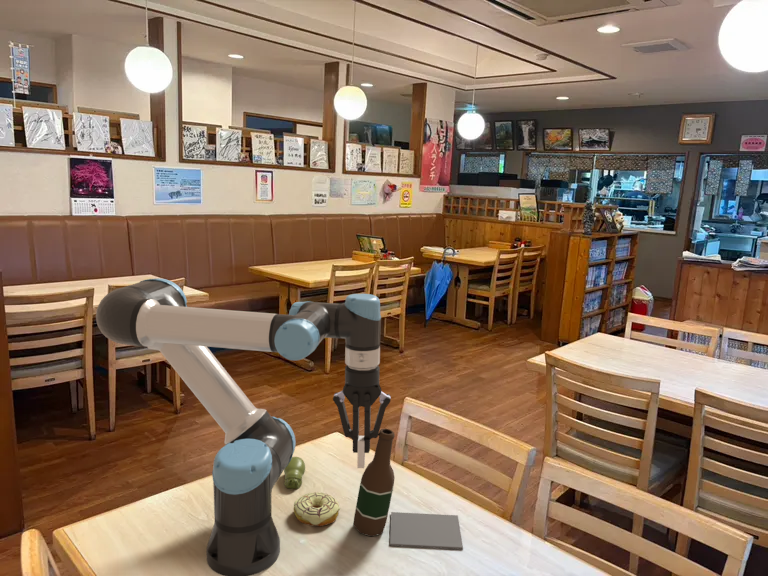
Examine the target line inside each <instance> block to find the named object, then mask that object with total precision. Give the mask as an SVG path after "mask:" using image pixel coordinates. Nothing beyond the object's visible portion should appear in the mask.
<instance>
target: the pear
mask: <svg viewBox="0 0 768 576" xmlns="http://www.w3.org/2000/svg"><path fill="white" fill-rule="evenodd" d="M305 472H306V464H305V461H304V460H303V458H301V457H299V456H292V459H291V461H290V462H289V464H288V465H287V467H286V468H285V469H284V470H283V473H284V475H285V476H284V486H285V488H286V489H291V490H292V489H294V490H296V489H299V488H301V486H302V485H303V476H304V474H305Z"/></svg>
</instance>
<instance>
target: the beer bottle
mask: <svg viewBox="0 0 768 576" xmlns="http://www.w3.org/2000/svg"><path fill="white" fill-rule="evenodd" d="M395 437H396V436H395V432H394V431H393V430H392V429H389V428H380V430H379V434H378V440H377V444H376V447H375V452H374V456H373V459H372V461H370V463H368V465H367V466H366V468H365V469H364V471H363V473H362V475H361V480H360V484H359V487H358V494H357V500H356V505H355V510H354V516H353V526H354V527H355V529H356V530H357V531H358V532H359V533H360V534H362V535H364V536H365V535H366V536H369V537H375V536H378V535H382V534H383V533H384V530H385V528H386V527H385V526H386V525H387V520H388V516H389V511H390V505H391V502H392V495H393V491H394V485H395V473H394V470H393V468H392V466H391V465H392V464H391V456H392V450H393V449H392V447H393V440H395V439H394V438H395Z"/></svg>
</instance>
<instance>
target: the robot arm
mask: <svg viewBox="0 0 768 576" xmlns="http://www.w3.org/2000/svg"><path fill="white" fill-rule="evenodd" d="M380 300H381V299H379V297H378V296H376V295H374V294H372V293H371V294H370V293H352V294H349V295H346V297H345V301H344V302H343V303H335V302H332V303H331V302H318V301H315V302H314V301H311V300H309V301H308V300H307V301H296V302H294V303H293V304H292V305H291V307H290V309H289V310H288V311H289V313H288V314H282V313H281V314H280V313H269V312H259V311H258V312H257V311H243V310H231V309H220V308H219V309H217V308H205V307H204V308H203V307H194V306H193V307H191V306H188V305H187V303H188V299H187V297H186V294H185V293H184V291H183V289H182V288H181V287H180V286H179V285H178V284H176V283H175V282H173V281H172V280H168V279H166V278H157V277H156V278H147V279H142V280H140V281H139V282H137V283H133V284H130V285H126V286H124V287H120V288H116V289H114V290H112V291H110V292H108V293H107V294H106V295H104V297H102V298H101V300H100V302H99V304H98V305H97V308H96V313H95V314H96V315H95V319H96V324H97V327H98V329H99V331H100V332H101V334H102V335H104V336H105V338H107V339H108V340H110V341H111V342H114V343H116V344H120V345H127V346H135V347H147V349H148V350H153V351H154V350H155V351H159V352H160V353H161V355H162V356H163V357H164V358H165V361H167V362H168V363H169V365H171V367H172V368H173V370H174V371H175V372H176V373H177V375H178V376H179V377H180V378H181V380H183V382H184V384H185V385H186V386H187V387H188V388H189V390H190V391H191V392H192V393H193V395H194V396H195V397H196V398H197V399H198V401H199V402H200V403H201V405H202V406H203V407H204V408H205V410H206V411H207V412H208V414H210V416H211V417H212V419H213V420H215V422H216V423H217V424H218V426H219V427H220V429H222V431H223V432H224V433H225V434H224V435H225V436H224V445H223V447H221V448H220V449H219V450H218V451H217V453H216V454H215V457H214V459H213V467H212V472H211V473H212V475H211V477H212V482H213V483H212V484H213V485H212V486H213V508H214V510H213V511H214V524H213V527H212V528H211V529H212V530H211V534H210V536H209V538H208V542H207V546H206V562H207V565H208V567H209V568H210V569H211V570H212V571H213V572H215V573H216V574H217V575H221V576H253V575H256V574H259V573H261V572H263V571H265V570H267V569H269V568H271V566H272V565H273V564H274V563H275V562H276V561H277V559H278V558H279V556H280V553H281V539H280V535H279V532H278V529H277V528H276V524H275V522H274V519H273V516H272V515H273V514H272V505H273V504H272V492H273V488H274V487H275V485H276V484H277V481H278V480H279V479H280V477H281V475H282V474H283V473H284V469H285V468H286V467H287V465H288V464H289V462H290V461H291V459H292V457H294V456H293V455H294V453H295V449H296V445H297V444H296V443H297V442H296V435H295V433H294V431H293V428H292V426H290V424H288V422H286V421H285V420H284V419H282V418H280V417H278V418H277V417H275V416H271V414H270V413H269V412H268V411H267V409H265V408H257V407H256V406H255V405H254V404H253V403H252V401H251V399H249V398H248V396H247V395H246V394H245V393H244V391H243V390H242V388H241V387H240V386H239V385H238V384H237V382H236V381H235V380H234V379H233V378H232V376H231V375H230V374H229V372H227V370H226V368H225V367H223V365H222V364H221V362H220V360H218V359H217V358H216V356H215V355H214V353H212V351H211V350H210V347H211V348H221V349H222V348H223V349H233V350H244V351H258V352H268V353H270V352H271V353H278V354H279V355H280V356H281V357H283V358H285V359H287V360H289V361H301V360H303V359H305V358H306V357H308V356H310V355H311V354H312V353H313V352H315V350H316V349H317V347H318V346H319V345H320V343H322V341H323V340H324V339H325V338H327V339H328V338H329V339H344V340H345V341H344V342H345V344H344V345H345V352H344V353H345V354H344V356H345V358H344V364H345V368H344V369H345V370H344V385H343V387H342V389H341V391H339V392H335V393H334V394H333V398H332V401H333V402H334V404H335V405H336V407H337V410H338V414H339V417H340V422H341V427H342V430H343V436H344V437H345V438H350V439H351V440H352V452H353V454H354V453H355V454H357V464H356V465H357V466H356V467H357V469H364V468H365V465H366V464H365V463H366V454H370V450H371V439H377V438H379V436H378V434H379V432H380V430H381V426H382V423H383V419H384V416H385V411H386V408H387V407H388V406H389V405H390V403H391V399H392V398H391V396H392V395H390V393H387V394H386V393H385V392H383V391H382V387H381V385H380V372H381V371H380V370H381V368H380V366H379V365H380V363H381V327H382V326H381V322H382V315H381V301H380ZM345 398H346V399H347V401H348V402H349V403H350V405H352V428H351V424H350V420H349V417H348V413H347V409H346V405H345ZM378 399H379V403H380V405H379V408H378V412H377V416H376V419H375V423H374V427H373V429H372V430H371V424H372V423H371V418H372V417H371V416H372V414H371V413H372V411H371V410H372V407H371V406H373V404H375V402H376V401H377V400H378ZM360 407H363V408H364V426H363V427H364V429H363V431H364V433H363V434H364V435H359V434H360Z"/></svg>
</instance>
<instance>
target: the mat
mask: <svg viewBox="0 0 768 576" xmlns="http://www.w3.org/2000/svg"><path fill="white" fill-rule="evenodd" d="M390 513H391V514H390V532H389V533H390V536H389V537H390V538H389V546H390V547H405V548H406V547H409V548H426V549H427V548H428V549H444V550H445V549H448V550H462V551H463V549H464V547H463V546H464V544H463V541H462V532H461V528H460V527H461V526H460V521H459V515H455V514H439V513H437V514H435V513H419V512H417V513H416V512H414V513H413V512H395V511H391V512H390Z"/></svg>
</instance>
